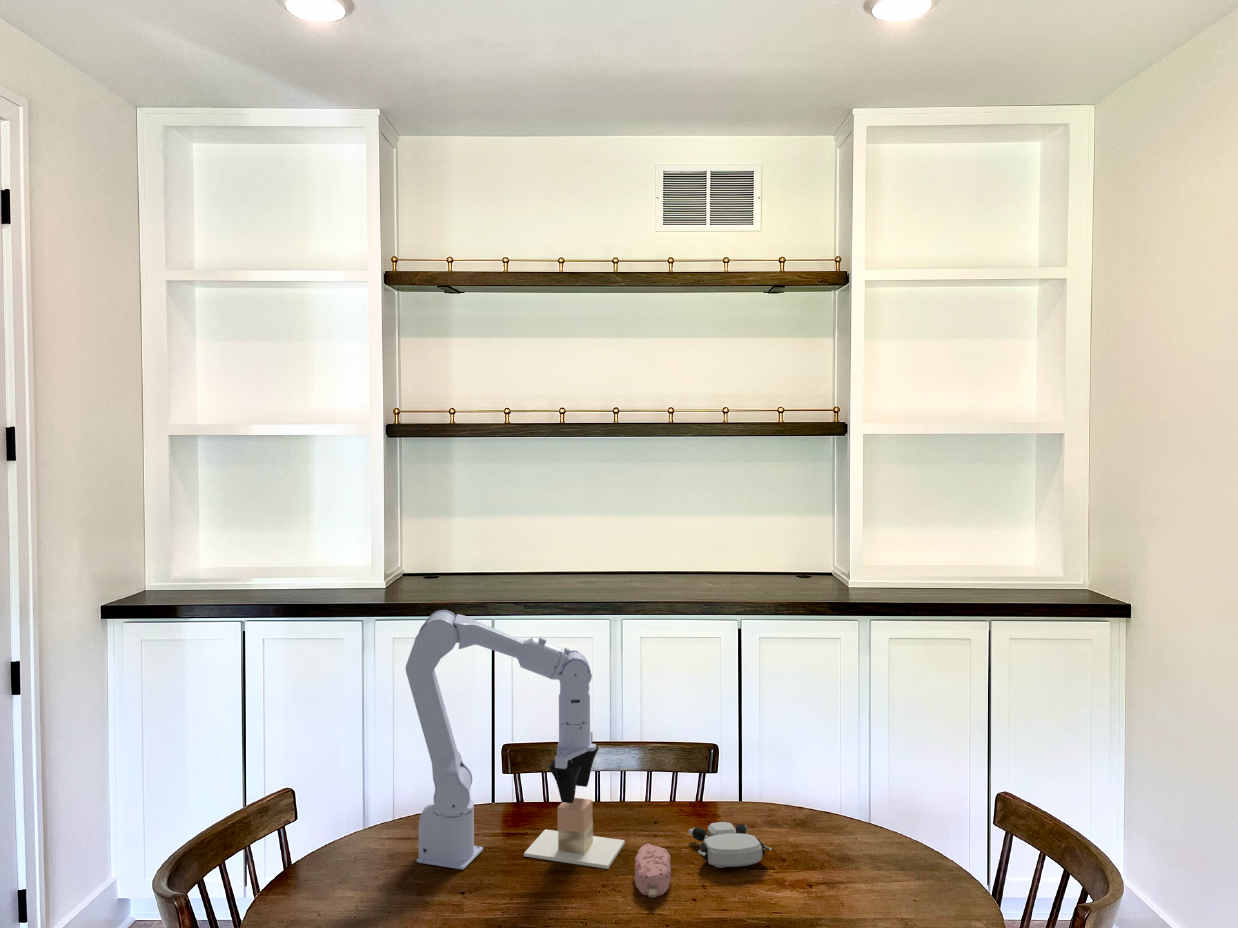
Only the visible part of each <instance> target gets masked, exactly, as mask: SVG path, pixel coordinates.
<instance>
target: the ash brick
mask: <svg viewBox="0 0 1238 928" xmlns="http://www.w3.org/2000/svg"><path fill="white" fill-rule="evenodd" d="M557 831H558V851H563V852H570V853H577V854H585V853H586V851H587V850H588V848H589V847H590V846H591V844H592V843H593V836H594V820H593V821H592V823H591V824H590V825H589V827H588V828H587V829H586V830H585V832H584V833H581V832H573V831H566V830H559V829H558V828H557Z"/></svg>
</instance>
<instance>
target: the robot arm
mask: <svg viewBox="0 0 1238 928" xmlns="http://www.w3.org/2000/svg"><path fill="white" fill-rule="evenodd" d="M456 644H458V650H462V649H465V648H469V647H472V646H478V647H482V648H486V649H488V650H491V651H494V652H498V653H500V654H503V655H505V656H509V657H512V658H516V659H517V661H518V664H519V666H520V669H521V668H522V669H524V670H526V671H528V672H531V673H535V674H537V675H540V676H542V677H545V678H547V679H549V680H552V681H553V680H558V681H559V695H558V743H557V752H556V755H555V757H554V760H552V761H551V762H550V763H549V771H550V773H551V774H552V776H553V777H554V780H555V783H556V785H557V788H558V793H559V797H560V801H561V803H562V802H565V803H573V801H574V798H576V789H577V788H576V787H583V788H584V787H585V788H587V787H588V785H589V782H590V777H591V776H590V775H591V772H592V768H593V763H594V761H595V758H596V755H597V753H598V751H599V745H597V744H596V743H593V741H594V739H593V738H594V737H593V731H591V696H590V693H589V692H590V683H591V680H592V677H593V674H592V673H591V668H590V665H589V661H588V660H587V658H586V657H585V655H583V654H582V653H580V652H579V651H578V650H574V649H572V650H571V649H570V648H568V647H564V649H563V648H561V647H559V646H556V645H553V644H550V643H548V642H547V639H546V638H544V637H542V636H540V637H539V638H535V637H530V638H529V639H526V640H521V639H519V638H517V637H515V636H512V635H510V634H507V633H506V632H503V631H501V630H500V629H497V628H494V627H492V626H490V625H487V624H485V623H482V622H481V621H478V620H476V619H473V618H471V617H468V616H466V615H463V614H459V613H457V614H455V613H454V612H452V611H450V610H447V609H442V610H436V611H434V612H433V613H431V614H430V615H429V616H428V618H427V619H426V620H425V621H424V623H423V624H422V625H421V626H420V628H419V630H418V633H417V635H416V636H415V638H414V641H413V645H412V647H411V649H410V653H409V656H408V659H407V662H406V665H405V673H406V676H407V677H406V678H407V681H408V684H409V688H410V691H411V695H412V698H413V701H414V704H415V705H414V706H415V709H416V713H417V715H418V720H419V723H420V726H421V730H422V734H423V738H424V740H425V744H426V748H427V752H428V754H429V758H430V762H431V771H432V780H433V784H434V792H433V793H434V794H433V799H432V800H433V804H427V805H425V807H424V808H423V810H422V811H421V814H420V816H419V821H418V858H416V863H419V864H425V865H431V866H438V867H444V868H450V869H451V868H452V869H456V870H464V869H465V868H467V867H468V866H469V865H470V863H472V862H473V860H474V859H476V858H477V857H478V856H480V855H479V854H481V853H482V852H483V851H484V847H483V846H479V845H478V846H477V845H475V819H474V816H475V813H474V812H475V811H474V809H475V804H474V801H473V800H472V799H471V793H470V791H471V788H472V783H473V774H472V772H471V770H470V768H469V767H468V766H467V765H466V764H465V763H464V761H463V759H462V755H461V753H460V752H459V750H458V748H457V745H456V741H455V738H454V734H453V730H452V727H451V724H450V723H451V722H450V720H449V717H448V712H447V709H446V705H445V702H444V698H443V695H442V692H441V687H440V684H439V680H438V676H437V675H436V669H435V668H436V667H437V666H438V664H439V663H440V661H441V659H442V658H444V657H446V655H448V653H450V652H451V651H452V650H453V649H454V647H455V646H456Z"/></svg>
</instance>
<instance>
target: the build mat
mask: <svg viewBox="0 0 1238 928" xmlns="http://www.w3.org/2000/svg"><path fill="white" fill-rule="evenodd" d="M625 844H626V843H625V840H624V839H618V838H611V837H610V838H609V837H602V836H596V835H593V843H592V844H591V846H590V847H589V848H588V850H587V851H586V853H585V854H577V853H570V852H563V851H558V830H553V829H544V830H543V831H542V832H541V833H540V835H538V836H537V838H536V839H535V840H534V841H533V842H532V843H531V845H529V847H528V848H527V849H526V850H525V851H524V853H523V857H526V858H527V857H528V858H534V859H539V860H546V861H551V862H552V861H553V862H560V863H568V864H573V865H580V866H586V867H594V868H599V869H606V870H609V868H610V867H611V865H612V864H613V863H614V861H615V859H616V858H617V856H618V854H619V853H620V852H621V851H622V849H623V847H624V846H625Z"/></svg>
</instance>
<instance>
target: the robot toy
mask: <svg viewBox="0 0 1238 928" xmlns="http://www.w3.org/2000/svg"><path fill="white" fill-rule="evenodd" d="M747 830H748V827H747V825H745V824H742V823H739V824H736V827H735V826H734V825H733V824H732V823H731V822H726V821H718V822H712V823H710V824H709V825H708V826H707V830H705V829H703V828H701V827H693V828H690V829H688V834H689V835H692V838H693V839H695V840H697V841H700V842H702V843H700V845H699V849H698V850H697V852H698V853H697V854H698V855H700V856H701V857H702V859H703V860H704V861H706V862H707V863H708V864H709V865H711V866H714V867H715V868H719V869H723V868H726V867H729V868H733V867H734V868H735V867H744V866H745V867H748V866H749V867H750V866H751V865H755V864H758V863H759V862H760V861H762V859H763V857H764V856H765V854H766V853H765V852H766V850H767V851H772V847H769V846H767V845H764V843H763V842H762V841H761V840H760V839H759V838H757V837H756V836H755V835H752V834H748V833H747ZM772 852H773V851H772Z"/></svg>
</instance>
